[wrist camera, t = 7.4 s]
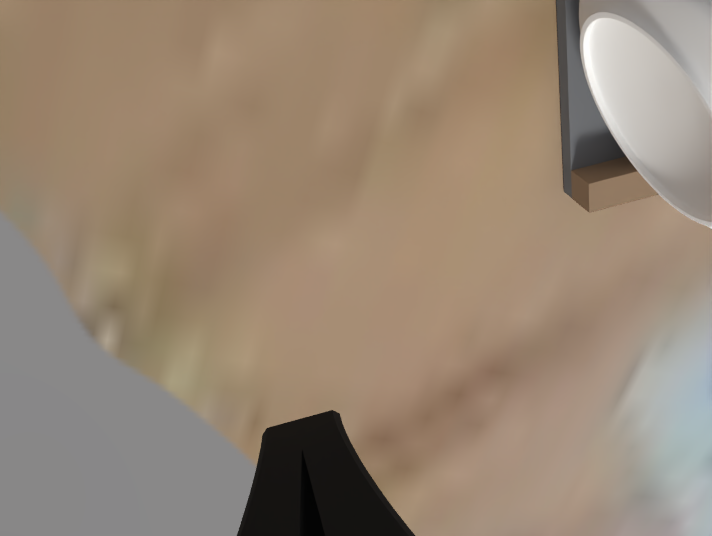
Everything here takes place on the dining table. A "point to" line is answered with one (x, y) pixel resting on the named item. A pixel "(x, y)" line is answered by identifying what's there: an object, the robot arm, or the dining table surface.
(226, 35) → the dining table surface
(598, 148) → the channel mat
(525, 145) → the dining table surface
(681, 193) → the beverage can
